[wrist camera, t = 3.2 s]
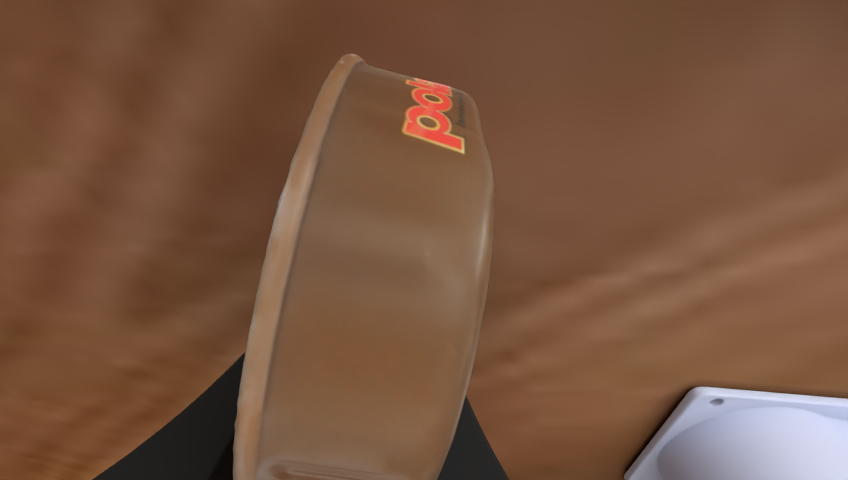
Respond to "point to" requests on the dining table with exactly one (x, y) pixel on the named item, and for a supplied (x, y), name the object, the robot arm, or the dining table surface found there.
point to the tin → (369, 286)
